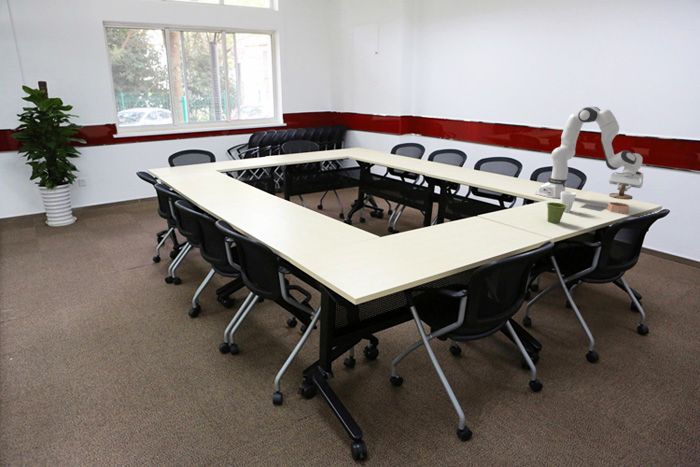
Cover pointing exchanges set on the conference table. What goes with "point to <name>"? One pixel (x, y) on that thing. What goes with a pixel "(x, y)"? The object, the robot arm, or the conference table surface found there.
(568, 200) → the foam cup
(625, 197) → the lid
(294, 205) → the conference table surface
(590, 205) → the mat
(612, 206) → the bowl
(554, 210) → the plant pot
